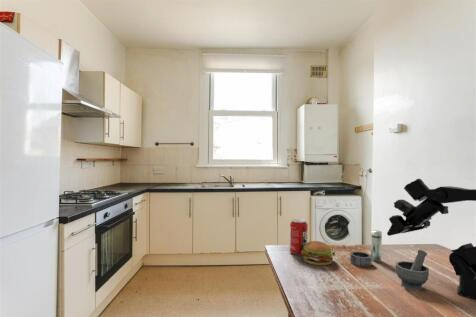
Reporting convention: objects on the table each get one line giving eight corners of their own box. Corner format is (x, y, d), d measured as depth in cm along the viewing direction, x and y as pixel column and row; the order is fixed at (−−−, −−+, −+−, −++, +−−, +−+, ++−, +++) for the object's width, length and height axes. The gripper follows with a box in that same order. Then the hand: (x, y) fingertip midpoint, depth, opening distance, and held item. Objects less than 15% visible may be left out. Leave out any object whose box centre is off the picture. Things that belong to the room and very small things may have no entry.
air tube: (380, 262, 115) (380, 233, 115) (369, 260, 118) (370, 231, 118) (382, 260, 118) (382, 231, 118) (372, 258, 121) (372, 229, 121)
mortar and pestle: (414, 295, 87) (414, 257, 87) (388, 282, 96) (389, 248, 96) (438, 290, 91) (438, 254, 91) (411, 278, 100) (412, 245, 100)
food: (331, 270, 106) (332, 249, 106) (296, 262, 114) (297, 243, 114) (339, 259, 118) (339, 241, 118) (307, 253, 125) (307, 236, 125)
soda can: (286, 251, 128) (287, 218, 128) (301, 249, 130) (302, 218, 130) (294, 256, 120) (295, 222, 120) (310, 255, 123) (311, 221, 123)
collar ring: (368, 268, 109) (368, 259, 109) (347, 263, 114) (347, 254, 114) (373, 262, 115) (373, 254, 115) (353, 258, 120) (353, 250, 120)
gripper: (422, 192, 111) (395, 214, 120) (394, 194, 102) (367, 218, 112) (444, 215, 104) (413, 237, 113) (416, 220, 95) (385, 243, 105)
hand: (394, 233), depth 111 cm, fingers open, 9 cm apart
